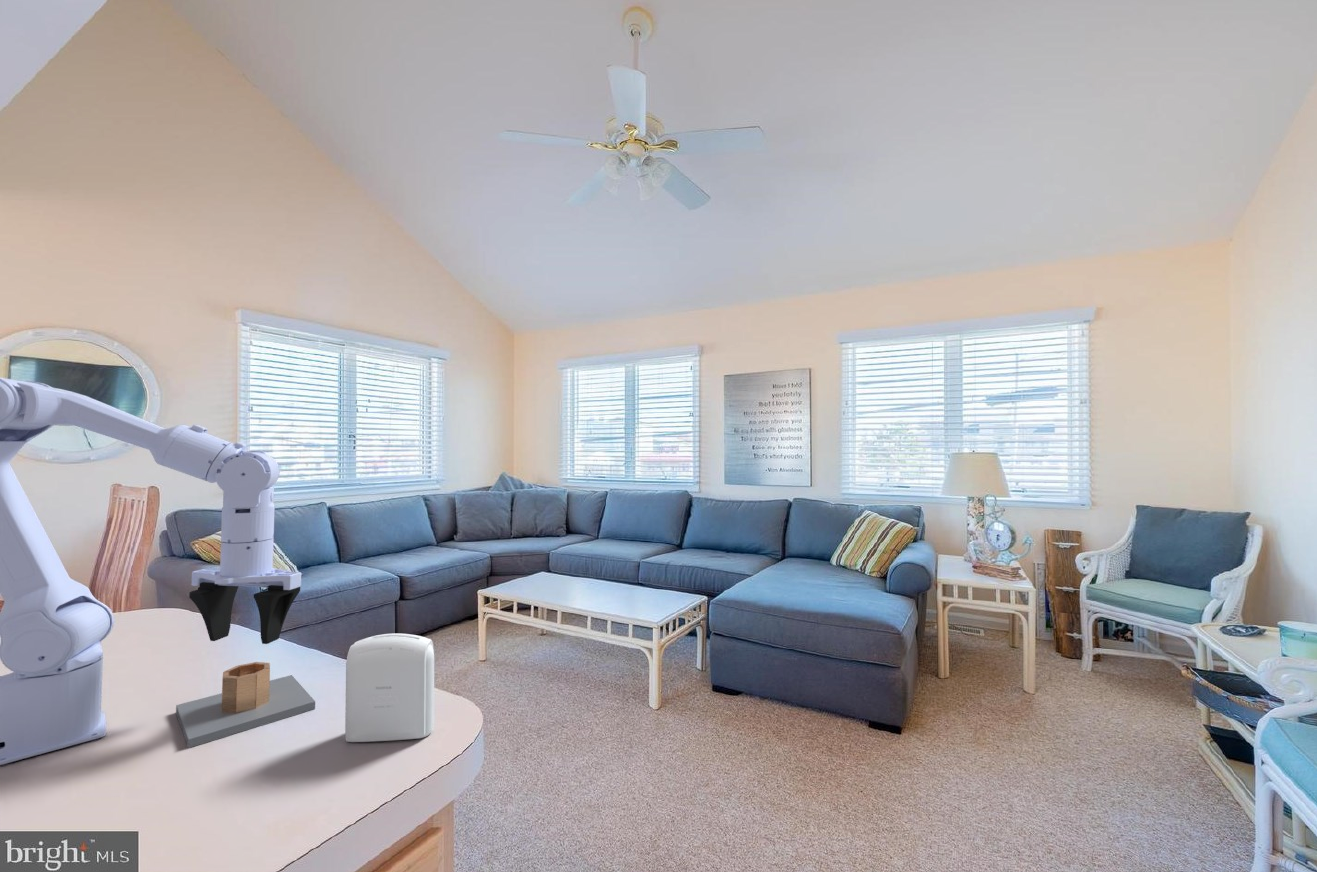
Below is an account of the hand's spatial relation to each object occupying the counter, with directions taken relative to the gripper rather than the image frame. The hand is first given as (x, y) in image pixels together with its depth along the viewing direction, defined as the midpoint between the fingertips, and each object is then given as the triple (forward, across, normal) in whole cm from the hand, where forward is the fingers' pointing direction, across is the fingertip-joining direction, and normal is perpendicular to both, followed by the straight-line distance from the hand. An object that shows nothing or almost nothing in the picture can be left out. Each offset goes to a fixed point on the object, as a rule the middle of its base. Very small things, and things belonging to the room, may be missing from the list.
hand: (244, 639), depth 72 cm
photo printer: (+10, +23, -3) cm, 26 cm away
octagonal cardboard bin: (+8, +1, 0) cm, 8 cm away
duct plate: (+9, +1, 0) cm, 9 cm away
